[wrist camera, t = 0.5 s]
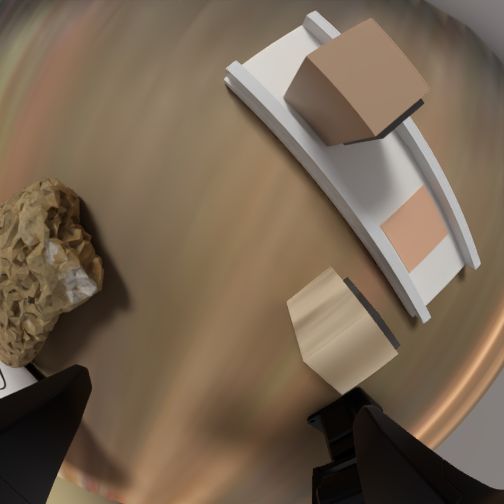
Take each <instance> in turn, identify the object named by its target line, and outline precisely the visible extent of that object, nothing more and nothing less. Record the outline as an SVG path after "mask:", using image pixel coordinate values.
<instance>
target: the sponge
mask: <svg viewBox="0 0 504 504" xmlns="http://www.w3.org/2000/svg"><path fill="white" fill-rule="evenodd" d="M79 214H80V210H79V199H78V197H77V194H76V193H75V192H74V191H73V190H72V189H70V188H69V187H67V186H65V185H64V184H63V183H61V182H60V181H59V180H58V179H54V178H46V179H42V180H38V181H36V182H35V183H34V184H33V185H31V186H29V187H27V188H24V189H23V190H22V191H21V192H18V193H16V194H14V195H13V196H11V197H10V198H9V199H8V200H6V201H5V202H4V203H3V204H2V206H1V207H0V361H1V362H2V363H4V364H5V365H7V366H10V367H12V368H19V367H20V368H21V367H23V366H25V365H27V364H28V363H30V362H31V361H32V360H33V359H34V358H35V357H36V355H37V354H38V353H39V351H40V350H41V349H42V347H43V345H44V342H45V339H46V338H47V337H48V334H49V332H50V331H52V330H53V328H54V325H55V324H56V322H57V321H58V318H59V316H60V314H61V313H62V312H70V311H71V310H72V309H74V308H76V307H78V306H79V305H81V304H83V303H85V302H87V300H88V299H89V298H90V297H91V296H92V295H94V294H96V293H97V292H99V291H101V290H102V283H103V277H104V270H103V268H102V262H103V261H102V259H101V257H99V256H97V255H96V254H95V249H94V247H93V245H92V244H91V243H90V240H91V235H89V234H88V233H87V232H86V231H85V230H84V228H83V227H82V226H81V225H79V224H80V218H79Z"/></svg>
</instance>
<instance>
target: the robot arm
mask: <svg viewBox="0 0 504 504" xmlns="http://www.w3.org/2000/svg"><path fill="white" fill-rule="evenodd" d="M91 391H92V384H91V380H90V376H89V371H88V369H87V368H86V367H83V366H81V365H77V364H76V365H73V366H71V367H69V368H67V369H65V370H62V371H60V372H58V373H56V374H54V375H52V376H49V377H47V378H45V379H43V380H41V381H38V382H36V383H34V384H32V385H29V386H27V387H25V388H23V389H20V390H18V391H16V392H14V393H11V394H9V395H7V396H5V397H2V398H0V504H46V501H47V498H48V496H49V494H50V491H51V488H52V486H53V483H54V481H55V479H56V476H57V474H58V471H59V469H60V467H61V464H62V462H63V460H64V458H65V455H66V453H67V451H68V449H69V447H70V444H71V442H72V440H73V438H74V436H75V434H76V432H77V429H78V427H79V425H80V422H81V419H82V416H83V413H84V410H85V408H86V405H87V402H88V399H89V396H90V394H91ZM307 421H308V423H309V424H310V425H312V426H313V427H315V428H317V429H318V430H320V431H322V432H323V433H324V435H325V439H326V443H327V447H328V451H329V454H330V458H331V463H329V464H326V465H324V466H321V467H316V468H313V475H312V504H504V490H499V489H494V488H491V487H489V486H487V485H485V484H483V483H481V482H480V481H478V480H476V479H474V478H472V477H470V476H469V475H467V474H465V473H463V472H462V471H460V470H459V469H457V468H455V467H454V466H453V465H451V464H450V463H448V462H447V461H446V460H443V459H442V457H440V456H439V455H437V454H436V453H435V452H433V451H432V450H431V449H429V448H428V447H427V446H425V445H424V444H423V443H421V442H420V441H419V440H418V439H416V438H415V437H414V436H412V435H411V434H410V433H408V432H407V431H406V430H405V429H403V428H402V427H401V426H399V425H398V424H397V423H396V422H394V421H393V420H392V419H391V418H389V417H388V416H387V415H386V414H384V413H383V409H382V407H380V406H379V405H378V404H377V403H376V402H375V401H374V400H373V399H372V398H371V397H370V396H369V395H368V394H367V393H366V392H365V391H364V390H363V389H361V388H360V387H357V388H355V389H353V390H352V391H350V392H349V393H347V394H346V395H344V396H343V397H341V398H340V399H338V400H337V401H335V402H333V403H332V404H330V405H329V406H327V407H325V408H324V409H322V410H320V411H319V412H317V413H315V414H313V415H312V416H310V417H308V419H307Z"/></svg>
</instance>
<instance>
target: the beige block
mask: <svg viewBox="0 0 504 504" xmlns="http://www.w3.org/2000/svg"><path fill="white" fill-rule="evenodd" d="M287 306H288V309H289V313H290V316H291V320H292V323H293V327H294V330H295V334H296V337H297V341H298V344H299V348H300V351H301V355H302V358H303V361H304V362H305V363H306V364H307V365H308V366H309V367H311V368H312V369H313V370H314V371H315V372H316V373H317V374H319V375H320V376H321V377H322V378H323V379H324V380H325V381H327V382H328V383H329V384H330V385H331V386H332V387H334V388H335V389H336V390H337V391H338V392H340V393H341V394H342V395H343V394H344V393H346V392H347V391H349V390H350V389H352V388H353V387H355V386H356V385H357V384H359V383H360V382H362V381H363V380H365V379H366V378H367V377H369V376H370V375H371V374H373V373H374V372H376V371H377V370H378V369H380V368H381V367H382V366H383V365H385V364H386V363H387V362H389V361H390V360H391V359H392V358H394V357H395V356H396V355H397V354H398V353H397V351H396V350H395V349H397V348H398V347H399V346H400V344H399V342H398V341H397V339H396V338H395V336H394V335H393V334H392V332H391V331H390V329H389V328H388V326H387V325H386V324H385V322H384V321H383V319H382V318H381V317H380V315H379V314H378V312H377V311H376V310H375V309H374V308H373V306H372V305H371V304H370V303H369V302H368V300H367V299H366V298H365V297H364V296H363V295H362V293H361V292H360V291H359V290H358V289H357V288H356V286H355V285H354V284H353V283H352V282H351V281H350V280H349V278H348V277H347V278H346V279H344V280H342V279H341V278H340V277H339V275H338V274H337V273H336V272H335V271H334V269H333V268H332V267H331V266H329V267H328V268H327V269H326V270H325V271H324V272H322V273H321V274H320V275H319V276H318V277H316V278H315V279H314V280H313V281H312V282H310V283H309V284H308V285H307V286H305V287H304V288H303V289H302V290H300V291H299V292H298V293H297V294H296V295H294V296H293V297H292V298H291V299H289V300H288V301H287Z"/></svg>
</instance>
